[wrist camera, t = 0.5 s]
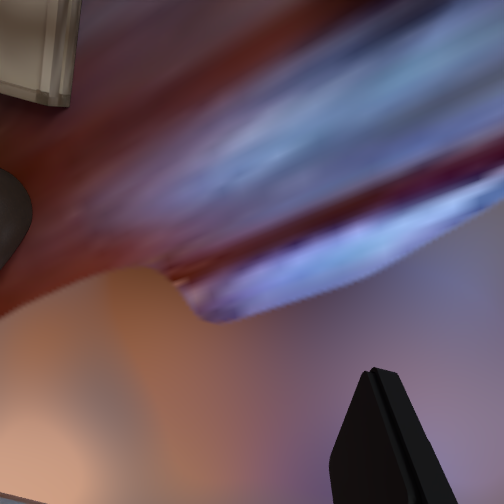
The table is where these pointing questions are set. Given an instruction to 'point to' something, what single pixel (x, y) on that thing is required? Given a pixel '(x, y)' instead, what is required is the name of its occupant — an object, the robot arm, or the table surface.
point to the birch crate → (38, 49)
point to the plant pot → (12, 215)
